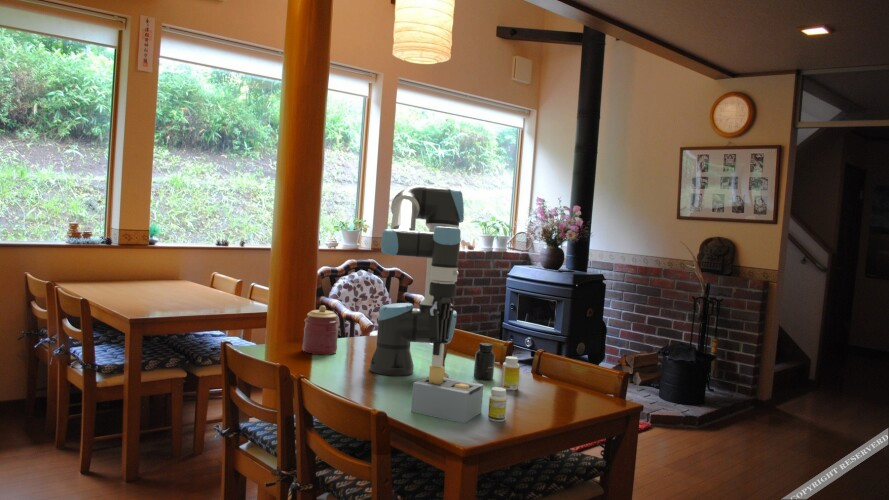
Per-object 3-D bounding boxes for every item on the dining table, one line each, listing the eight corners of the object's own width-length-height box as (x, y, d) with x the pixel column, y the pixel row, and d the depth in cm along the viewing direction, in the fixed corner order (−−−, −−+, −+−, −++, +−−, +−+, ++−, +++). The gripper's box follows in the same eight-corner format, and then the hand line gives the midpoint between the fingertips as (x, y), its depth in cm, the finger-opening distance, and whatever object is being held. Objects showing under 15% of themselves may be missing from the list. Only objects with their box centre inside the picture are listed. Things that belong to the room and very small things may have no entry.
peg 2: (450, 412, 179) (452, 385, 179) (456, 409, 183) (458, 382, 182) (463, 415, 177) (465, 388, 177) (469, 412, 181) (471, 385, 181)
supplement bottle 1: (491, 381, 221) (494, 346, 221) (471, 379, 223) (474, 344, 222) (494, 377, 228) (497, 343, 227) (475, 375, 229) (477, 341, 229)
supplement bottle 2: (490, 415, 182) (492, 385, 181) (506, 418, 180) (509, 388, 180) (486, 420, 177) (488, 389, 177) (503, 423, 176) (505, 392, 175)
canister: (309, 346, 256) (312, 302, 255) (341, 350, 254) (344, 305, 253) (297, 353, 243) (300, 305, 242) (330, 356, 241) (334, 309, 240)
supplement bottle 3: (521, 390, 213) (523, 359, 212) (506, 391, 210) (509, 359, 210) (512, 385, 218) (514, 355, 217) (497, 386, 215) (500, 355, 215)
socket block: (411, 411, 180) (413, 382, 179) (430, 402, 190) (432, 375, 190) (464, 423, 173) (466, 393, 172) (481, 412, 184) (483, 384, 183)
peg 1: (425, 393, 182) (427, 366, 182) (431, 390, 186) (433, 364, 185) (438, 396, 180) (440, 369, 180) (444, 393, 184) (446, 366, 184)
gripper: (445, 284, 174) (439, 372, 175) (465, 282, 186) (458, 364, 187) (420, 281, 177) (414, 367, 178) (441, 279, 189) (435, 360, 190)
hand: (437, 366), depth 183 cm, fingers closed
